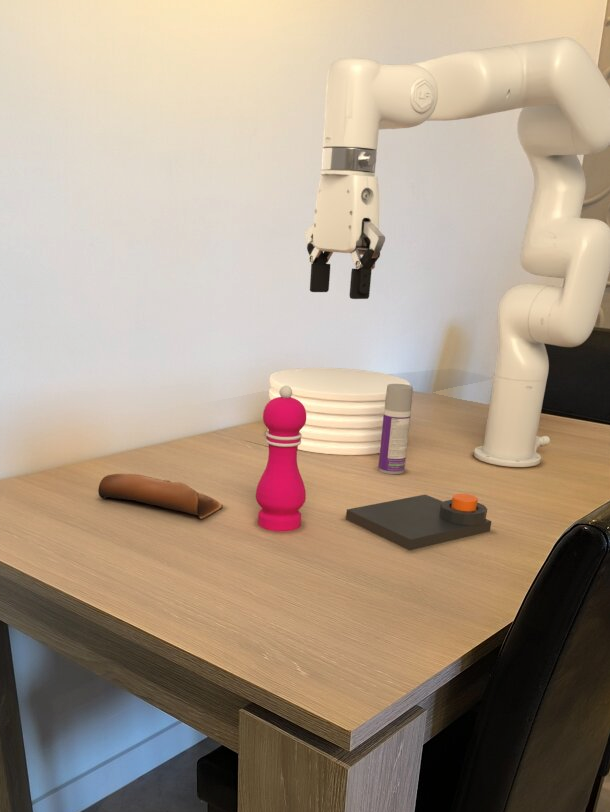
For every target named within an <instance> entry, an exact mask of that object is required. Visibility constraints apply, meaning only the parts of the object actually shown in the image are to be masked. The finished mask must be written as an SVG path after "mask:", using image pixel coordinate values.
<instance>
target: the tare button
mask: <svg viewBox="0 0 610 812" xmlns="http://www.w3.org/2000/svg"><path fill="white" fill-rule="evenodd" d="M451 500H452V505H451V508H454V509H456V510H460V511H476V508H477V503H479V502H478V501H479V497H477V496H475V495H473V494H468V493H456V494H453V495H452V498H451Z"/></svg>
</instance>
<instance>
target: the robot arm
mask: <svg viewBox="0 0 610 812" xmlns="http://www.w3.org/2000/svg"><path fill="white" fill-rule="evenodd" d="M519 109H521V110H520V112H519V115H518V118H517V122H516V123H517V126H516V127H517V128H516V129H517V130H516V131H517V132H516V133H517V138H518V141H519V143H520V146H521V148H522V149H523V152H524V153H525V155H526V157H527V159H528V161H529V164H530V168H531V170H532V174H533V191H532V198H531V202H530V207H529V211H528V216H527V220H526V225H525V229H524V234H523V238H522V242H521V248H520V254H519V257H520V258H519V260H520V265H521V268H522V269H523V270H524V271H525V272H527V273H529V274H531V275H534V276H540V277H546V278H554V279H555V278H556V279H564V284H563V287H562V286H556V285H549V284H541V283H522V284H517V285H515V286H512V287H511V288H509V289H508V290H507V291H506V292H505V293H504V295H503V296H502V297H501V299H500V301H499V304H498V308H497V316H496V317H497V320H496V322H497V351H496V357H495V358H496V359H495V366H494V373H493V377H492V385H491V392H490V398H489V405H488V412H487V417H486V424H485V425H486V426H485V430H484V437H483V438H484V439H483V445H480V446H476V447H475V448H474V449H473V457H474V458H475V459H476V460H479V461H481V462H483V463H486V464H490V465H494V466H499V467H500V466H501V467H509V468H531V467H535V466H538V465H539V464H541V461H542V456H541V454H540V453H538V452H537V450H538V449H539V447H540V448H541V447H547V446H548V445H549V444H550V443H551V439H550V437H549V436H548V435H543V436H539V435H538V432H539V431H538V430H539V425H540V420H541V416H542V415H541V414H542V409H543V403H544V397H545V392H546V386H547V380H548V376H549V369H550V368H549V367H550V363H549V362H550V361H549V356H548V352H547V348H546V345H551V346H556V347H563V348H575V347H579V346H581V345H582V344H583V343H585V342H586V341H587V340H588V339H589V337H590V336H591V334H592V332H593V330H594V328H595V326H596V323H597V319H598V316H599V312H600V310H601V306H602V301H603V298H604V294H605V292H606V291H605V290H606V287H607V283H608V281H609V280H608V279H609V276H610V226H609V225H608V224H607V223H606V222H604V221H602V220H600V219H597V218H588V217H587V218H584V217H581V215H582V210H583V205H584V201H585V195H586V190H587V181H586V175H585V171H584V169H583V166H582V164H581V161H580V159H579V157H578V156H588V155H596V154H599V153H601V152H603V151H605V150H606V149H608V148H609V147H610V85H609V83H608V81H607V79H606V78H605V77H604V75H603V73H602V71H601V70H600V68H599V66H598V65H597V63H596V62H595V60H594V59H593V57H592V56H591V55H590V53H589V52H588V51H587V49H586V48H584V46H583V45H582V44H581V43H579V42H578V41H577V40H576V39H574V38H571V37H567V36H564V37H555V38H550V39H549V38H548V39H542V40H535V41H529V42H528V41H527V42H521V43H515V44H508V45H501V46H494V47H487V48H479V49H473V50H466V51H461V52H456V53H451V54H447V55H442V56H439V57H436V58H433V59H428V60H424V61H418V62H413V63H406V64H405V63H404V64H403V63H402V64H401V63H400V64H389V63H388V64H387V63H379V62H377V61H376V60H373V59H370V58H362V57H344V58H343V57H342V58H338V59H336V60H334V61H333V62H331V64H330V65H329V67H328V70H327V75H326V91H325V106H324V119H323V120H324V121H323V122H324V123H323V138H322V150H321V151H322V154H321V168H320V177H319V182H318V187H317V192H316V193H317V194H316V199H315V207H314V214H313V215H314V217H313V224H312V225H310V226H309V227H308V228H307V229H306V230H305V231H304V236H305V241H306V251H307V253H308V255H309V257H308V262H309V263H310V264H311V265H310V277H309V278H310V280H309V291H310V292H311V293H328V292H329V290H330V279H331V263H329V260H330V259H331V257H332V256H333V254H334V253H340V254H349V255H350V257H351V260H352V262H353V265H354V268H351V272H350V282H349V283H350V284H349V298H350V299H351V300H368V299H369V298H370V291H371V283H372V270H374V269H375V268H376V262H377V261H378V260H379V258H380V257H381V251H382V249H383V246H384V244H385V242H386V236H385V235H384V234H383V233H382V232H381V231H380V230H379V227H380V224H379V223H380V190H379V180H378V176H375V175H376V167H377V166H376V163H377V154H378V143H379V142H378V141H379V131H380V130H398V129H409V128H415V127H417V126H420V125H422V124H423V123H425V122H426V121H427V122H429V121H431V122H432V121H433V122H434V121H441V122H446V121H459V120H466V119H473V118H477V117H481V116H486V115H491V114H497V113H503V112H507V111H513V110H519Z"/></svg>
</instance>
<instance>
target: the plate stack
mask: <svg viewBox="0 0 610 812" xmlns="http://www.w3.org/2000/svg"><path fill="white" fill-rule="evenodd" d="M389 384H405V385H410V386H411V383H410V382H409V381H408V380H406V379H404V378H402V377H400V376H396V375H392V374H388V373H385V372H378V371H372V370H365V369H356V368H346V367H345V368H344V367H343V368H342V367H299V368H288V369H283V370H278V371H275V372H273V373H271V374H270V376H269V386H270V388H269V389H268V398H269V401H271V400H272V399H274V398H277V397H281V396H280V394H279V391H280V389H281V387H283V386H289V387H290V388H291V389H292V396H291V398H295V399H297V400H298V401H300V402H301V403H302V404H303V406H304V408H305V410H306V423H305V425H304V426H303V428H302V429H301V430H300V431H299V432H300V433H301V434H302V437H301V444H300V445H298V449H297V451H298V450H299V451H303V452H309V453H316V454H322V455H323V454H324V455H336V456H337V455H339V456H364V455H365V456H366V455H376V454H380V446H381V436H382V426H383V415H384V408H385V400H386V391H387V385H389ZM267 431H269V430H268V429H267Z"/></svg>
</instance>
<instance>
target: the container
mask: <svg viewBox="0 0 610 812" xmlns="http://www.w3.org/2000/svg"><path fill="white" fill-rule="evenodd" d="M413 393H414V386H412V385H411V384H410V385H405V384H389V385H387V391H386V400H385V408H384V415H383V426H382V436H381V446H380V453H379V458H378V468H377V470H378V471H379V472H380V473H383V474H386V475H401V474H404V473H405V469H406V458H407V451H408V443H409V435H410V426H411V425H410V424H411V416H412V405H413Z"/></svg>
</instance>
